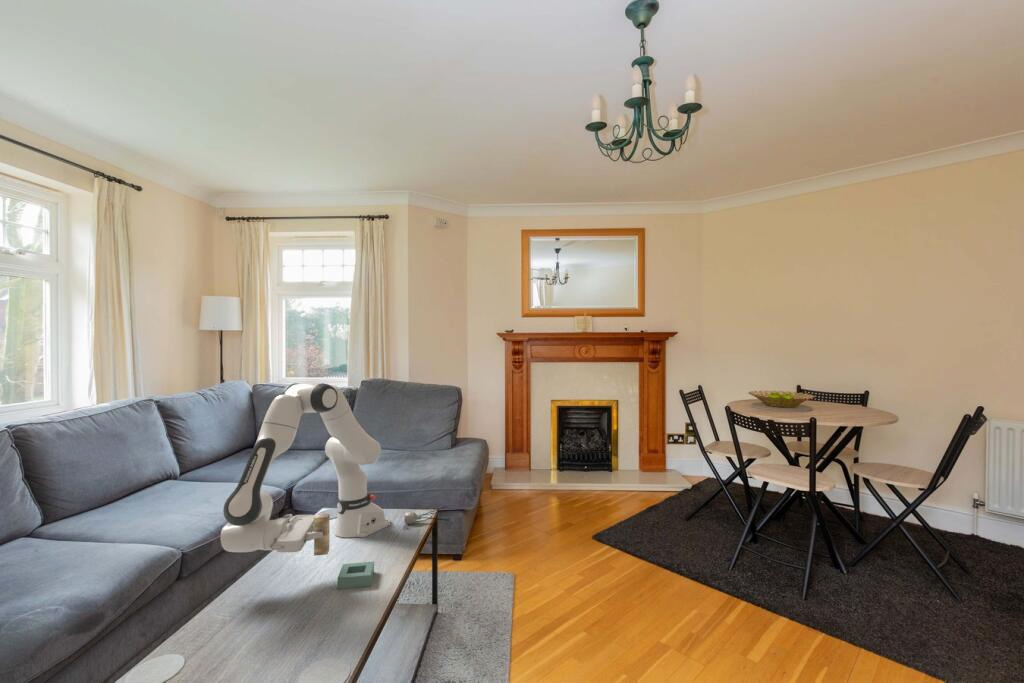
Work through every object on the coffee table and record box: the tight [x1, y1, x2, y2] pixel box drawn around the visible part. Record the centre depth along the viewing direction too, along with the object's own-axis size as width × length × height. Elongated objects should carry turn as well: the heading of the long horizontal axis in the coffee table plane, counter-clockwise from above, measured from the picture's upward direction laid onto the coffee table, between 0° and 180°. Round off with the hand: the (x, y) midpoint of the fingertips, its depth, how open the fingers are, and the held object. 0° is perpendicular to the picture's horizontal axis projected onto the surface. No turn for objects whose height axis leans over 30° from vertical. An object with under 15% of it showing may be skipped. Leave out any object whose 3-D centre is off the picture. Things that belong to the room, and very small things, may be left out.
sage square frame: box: [337, 561, 375, 590], centre depth 145 cm, size 10×9×4 cm
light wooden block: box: [313, 513, 330, 557], centre depth 144 cm, size 4×3×12 cm
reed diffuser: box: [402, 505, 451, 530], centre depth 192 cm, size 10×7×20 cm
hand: (324, 530), depth 144 cm, fingers closed on light wooden block, 3 cm apart
